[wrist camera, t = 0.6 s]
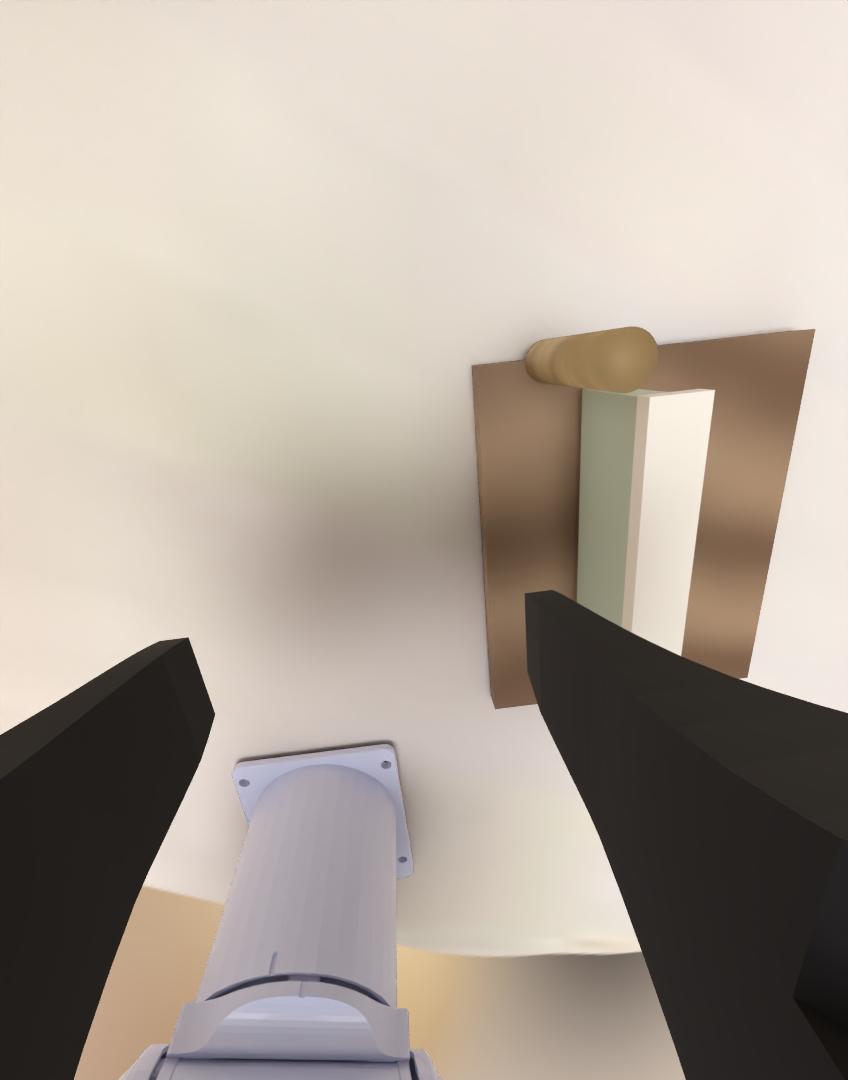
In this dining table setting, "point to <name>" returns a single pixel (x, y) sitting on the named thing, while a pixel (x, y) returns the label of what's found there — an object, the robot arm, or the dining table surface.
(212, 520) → the dining table surface
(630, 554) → the gate leaf
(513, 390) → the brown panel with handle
